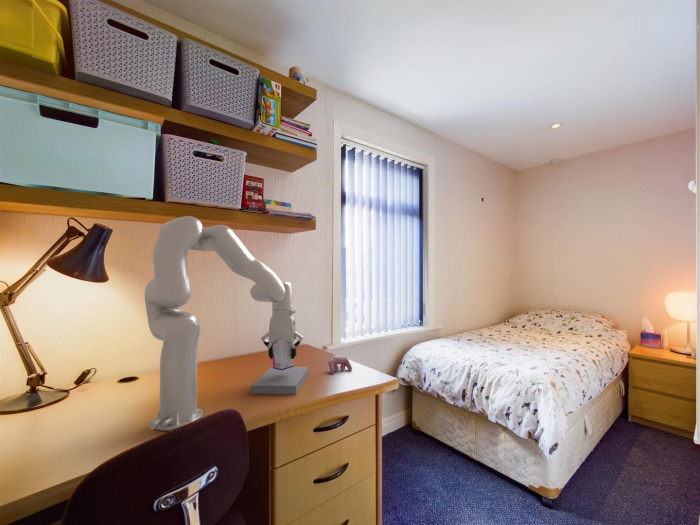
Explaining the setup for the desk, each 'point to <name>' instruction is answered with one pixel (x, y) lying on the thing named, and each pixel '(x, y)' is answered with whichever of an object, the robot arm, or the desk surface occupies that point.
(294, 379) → the riser
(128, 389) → the desk surface
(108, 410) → the desk surface
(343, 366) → the pink toy elephant
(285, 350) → the supplement box
